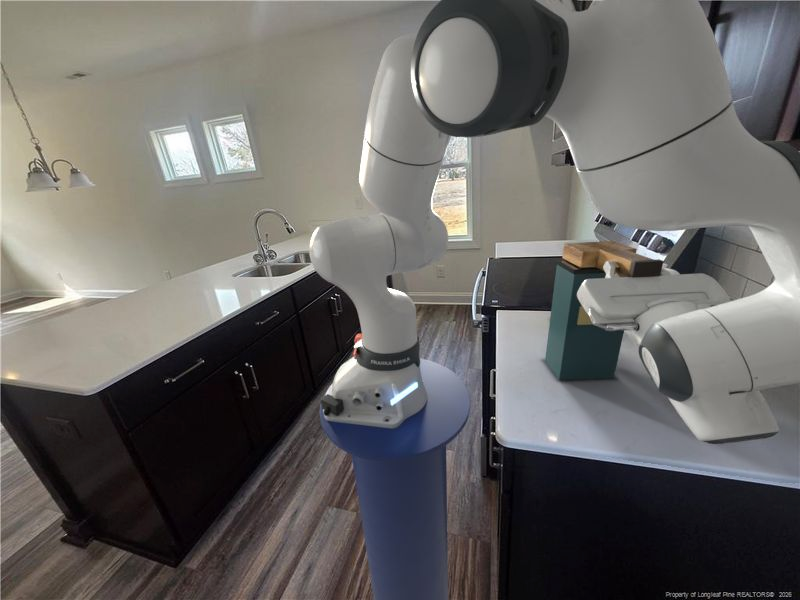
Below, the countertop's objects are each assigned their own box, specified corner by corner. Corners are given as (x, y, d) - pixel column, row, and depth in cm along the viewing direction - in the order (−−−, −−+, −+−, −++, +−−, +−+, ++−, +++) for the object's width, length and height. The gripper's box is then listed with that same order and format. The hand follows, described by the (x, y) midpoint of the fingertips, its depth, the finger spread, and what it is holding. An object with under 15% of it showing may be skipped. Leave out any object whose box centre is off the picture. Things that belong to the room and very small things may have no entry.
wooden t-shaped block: (612, 286, 52) (617, 263, 50) (561, 259, 69) (564, 241, 68) (675, 283, 51) (682, 259, 50) (608, 256, 69) (612, 238, 67)
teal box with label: (558, 381, 71) (574, 269, 61) (543, 360, 79) (555, 258, 69) (616, 379, 70) (642, 266, 61) (594, 358, 78) (614, 255, 69)
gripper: (588, 342, 50) (560, 277, 59) (723, 336, 49) (674, 272, 58) (606, 319, 45) (572, 252, 54) (756, 312, 44) (697, 246, 53)
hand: (626, 262), depth 56 cm, fingers open, 5 cm apart
